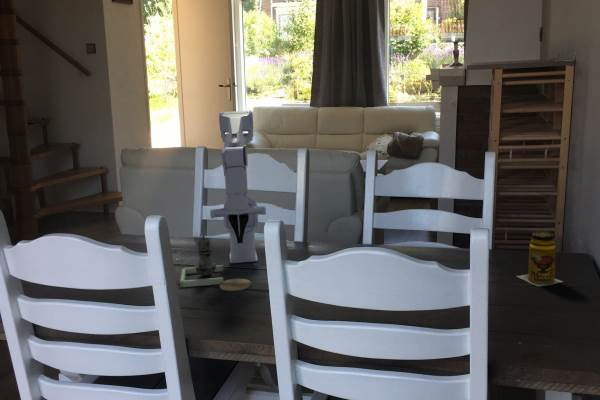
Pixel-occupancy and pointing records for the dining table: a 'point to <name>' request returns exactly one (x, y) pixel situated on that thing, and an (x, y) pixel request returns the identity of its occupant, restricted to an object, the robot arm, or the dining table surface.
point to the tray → (199, 281)
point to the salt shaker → (205, 260)
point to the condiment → (541, 260)
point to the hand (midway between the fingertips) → (240, 242)
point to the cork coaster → (235, 284)
